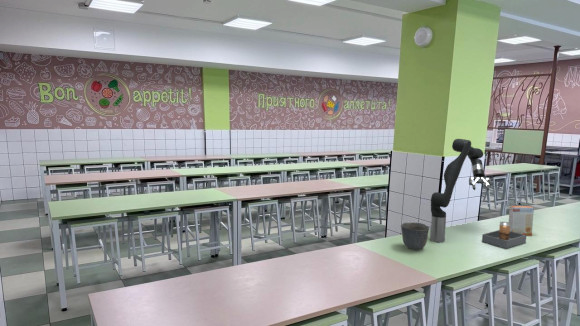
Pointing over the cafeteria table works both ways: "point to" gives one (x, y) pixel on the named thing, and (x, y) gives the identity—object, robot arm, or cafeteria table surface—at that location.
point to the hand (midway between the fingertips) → (481, 189)
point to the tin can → (504, 230)
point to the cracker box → (521, 219)
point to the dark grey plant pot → (414, 235)
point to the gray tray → (513, 240)
